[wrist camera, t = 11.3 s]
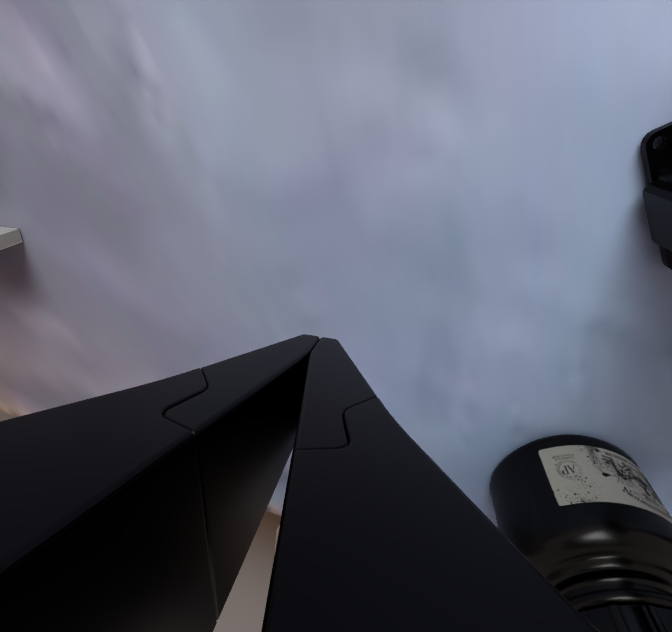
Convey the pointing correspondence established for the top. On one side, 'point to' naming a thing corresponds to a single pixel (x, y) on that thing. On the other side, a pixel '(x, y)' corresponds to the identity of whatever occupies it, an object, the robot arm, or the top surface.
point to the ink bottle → (590, 529)
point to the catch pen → (9, 237)
